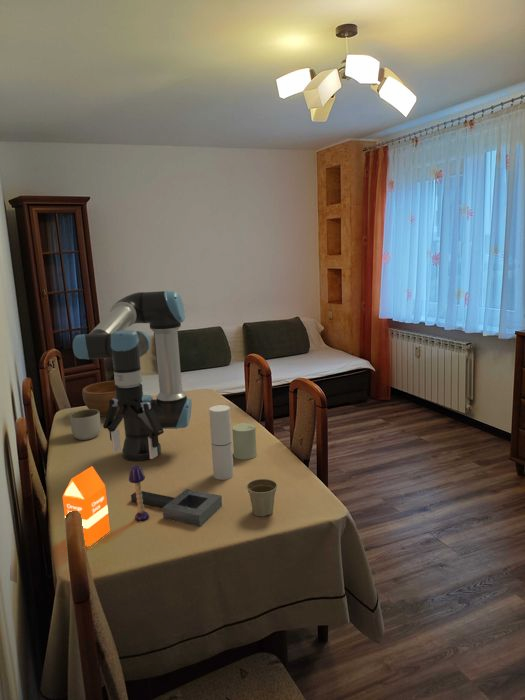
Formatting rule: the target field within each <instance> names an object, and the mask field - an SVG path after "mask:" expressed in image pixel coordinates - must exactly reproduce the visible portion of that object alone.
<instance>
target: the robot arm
mask: <svg viewBox="0 0 525 700" xmlns="http://www.w3.org/2000/svg"><path fill="white" fill-rule="evenodd" d="M182 299H183V298H182V297H181V295H180V294H179V292H177V291H172V290H161V291H147V292H146V291H142V292H134V293H132V294H129V295H126V296H124V297H123V298H121V299H119V300H117V302H115V303H114V304H113V305H112V306H111V308H110V310H109V313H108V314H107V315H106V316H105V317H104V318H103V319H102V320H101V321H100V322H99V323H98V324H97V325H96V326H95V327H94V328H93V329H92V330H91V331H90V332H89V333H88V334H87V333H83V334H78V335H75V337H74V339H73V341H72V351H73V354H74V356H75V357H76V358H77V359H79V360H98V359H99V360H100V359H112V367H113V375H114V376H113V377H114V381H115V385H117V386H116V387H115V390H116V398H114V399H111V400H109V409H108V412H107V415H106V417H104V418H105V419H104V422H103V425H102V427H103V429H107V430H108V432H109V439H110V441H111V447H112V453H114V454H116V453H117V452H120V451H121V450H122V452H121V453H122V458H123V459H125V460H127V461H133V462H137V461H139V462H141V461H146V460H153V459H155V458H156V457H158V456H159V455H160V454H161V452H162V446H161V443H160V442H159V436H160V435H163V434H164V433H165V431H164V429H165V430H167V429H170V430H172V429H173V430H174V429H175V430H177V429H185V428H187V427H188V426H189V424H190V420H191V416H192V405H193V404H192V399H191V398H190V397H188V398H187V392H186V391H184V390H183V384H182V374H181V373H182V372H181V362H180V361H181V360H180V350H179V349H180V347H179V336H178V334H179V333H178V330H179V329H180V328H181V327H182V325H181V323H183V322H184V321H185V318H186V317H185V314H186V313H185V308H184V303H183V300H182ZM135 324H149V329H150V330H151V331H152V332H153V333H154V343H155V352H156V353H155V354H156V363H157V364H156V366H157V373H158V374H157V375H158V384H159V385H158V386H159V392H158V393H157V395H156V399H154V398H153V396H152V395H151V394H144V391H143V389H144V388H143V384H142V382H143V379H142V378H143V376H142V372H141V360H140V359H141V357H142V356H144V355H146V354H147V352H148V351H149V350H150V348H151V345H152V344H151V343H152V341H151V338H150V336H149V335H148V334H147V333H146V332H144V331H142V330H132V329H130V330H129V329H127V328H128V327H130V326H133V325H135ZM118 406H119V408H120V410H119V411H118V413H117V415H116V416H115V413H116V410H117V407H118ZM122 421H123V427H124V435H125V438H124V441H123V446H122V445H121V436H120V435H121V434H120V429H119V427H118V426H119V425H120V424H121V422H122Z"/></svg>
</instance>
